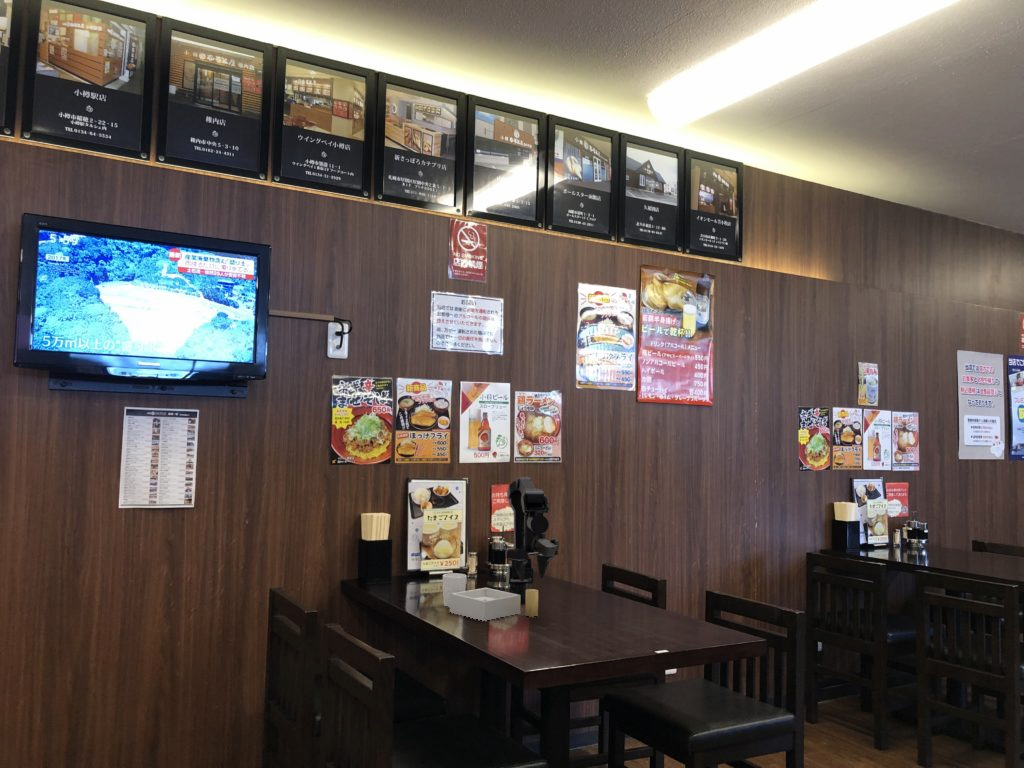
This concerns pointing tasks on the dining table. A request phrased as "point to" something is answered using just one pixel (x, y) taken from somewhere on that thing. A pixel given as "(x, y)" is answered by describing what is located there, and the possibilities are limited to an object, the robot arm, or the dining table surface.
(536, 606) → the peg
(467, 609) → the socket box
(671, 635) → the dining table surface
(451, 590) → the white cup
